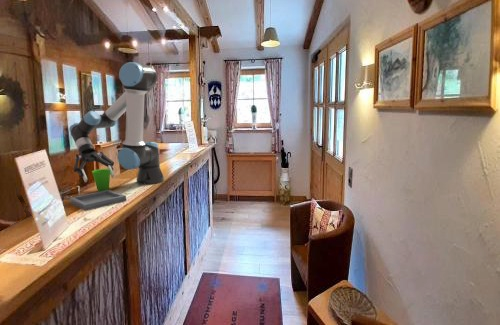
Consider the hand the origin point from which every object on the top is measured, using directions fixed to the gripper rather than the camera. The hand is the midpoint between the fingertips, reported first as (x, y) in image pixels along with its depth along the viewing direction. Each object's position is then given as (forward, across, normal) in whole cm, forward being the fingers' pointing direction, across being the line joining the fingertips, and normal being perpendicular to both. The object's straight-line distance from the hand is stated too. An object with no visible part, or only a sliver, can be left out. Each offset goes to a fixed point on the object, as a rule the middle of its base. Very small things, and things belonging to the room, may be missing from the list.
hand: (100, 178), depth 166 cm
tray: (+18, +9, +9) cm, 22 cm away
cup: (+6, 0, -4) cm, 7 cm away
